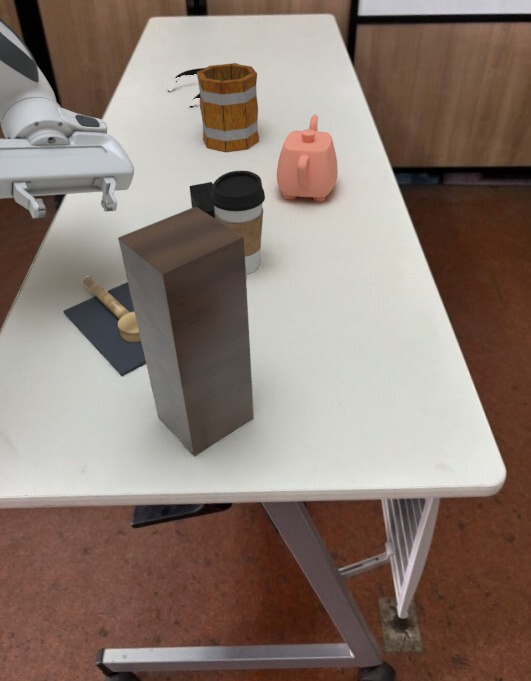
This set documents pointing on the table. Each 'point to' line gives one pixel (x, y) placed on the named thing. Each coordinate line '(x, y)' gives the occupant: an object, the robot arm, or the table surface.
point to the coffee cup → (241, 210)
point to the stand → (193, 323)
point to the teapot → (307, 164)
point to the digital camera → (202, 197)
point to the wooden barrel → (229, 106)
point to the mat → (108, 330)
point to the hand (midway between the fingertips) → (77, 211)
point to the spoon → (115, 311)
